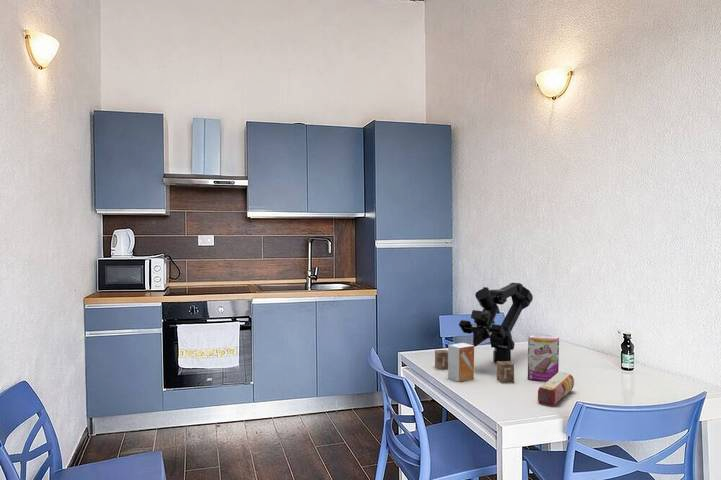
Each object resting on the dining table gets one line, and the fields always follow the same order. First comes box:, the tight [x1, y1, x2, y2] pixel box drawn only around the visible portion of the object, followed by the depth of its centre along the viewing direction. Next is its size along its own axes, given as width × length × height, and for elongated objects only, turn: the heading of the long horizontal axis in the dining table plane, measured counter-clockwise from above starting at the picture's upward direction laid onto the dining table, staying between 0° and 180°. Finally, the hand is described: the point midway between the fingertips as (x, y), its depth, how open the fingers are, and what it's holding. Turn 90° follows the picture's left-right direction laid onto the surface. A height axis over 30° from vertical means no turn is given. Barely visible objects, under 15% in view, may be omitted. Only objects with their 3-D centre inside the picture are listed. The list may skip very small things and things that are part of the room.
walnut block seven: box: [496, 361, 515, 384], centre depth 201 cm, size 5×5×7 cm
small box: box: [447, 342, 475, 383], centre depth 204 cm, size 8×6×13 cm
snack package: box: [537, 371, 575, 407], centre depth 182 cm, size 21×7×7 cm, turn 143°
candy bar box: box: [527, 334, 560, 382], centre depth 203 cm, size 11×5×16 cm, turn 71°
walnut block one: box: [434, 349, 448, 371], centre depth 220 cm, size 5×5×7 cm
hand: (474, 345), depth 211 cm, fingers closed
